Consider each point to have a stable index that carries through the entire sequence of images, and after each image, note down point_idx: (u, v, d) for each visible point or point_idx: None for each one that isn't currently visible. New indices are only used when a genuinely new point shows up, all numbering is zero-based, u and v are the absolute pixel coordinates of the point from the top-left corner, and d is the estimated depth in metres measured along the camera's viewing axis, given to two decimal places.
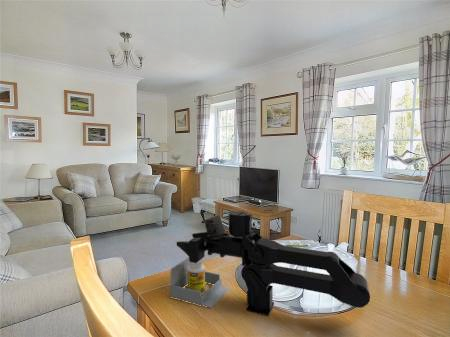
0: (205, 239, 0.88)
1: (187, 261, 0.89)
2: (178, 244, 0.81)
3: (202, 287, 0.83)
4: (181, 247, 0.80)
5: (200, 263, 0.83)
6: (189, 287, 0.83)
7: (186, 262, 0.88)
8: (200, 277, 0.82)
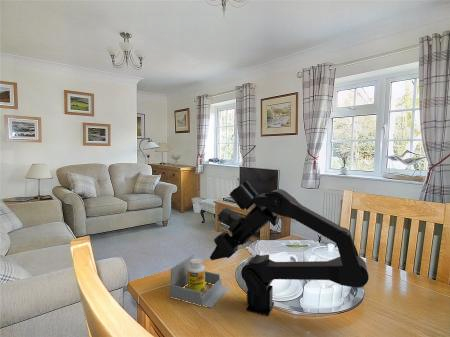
0: (236, 241, 0.84)
1: (187, 261, 0.89)
2: (212, 257, 0.76)
3: (202, 287, 0.83)
4: (215, 257, 0.75)
5: (200, 263, 0.83)
6: (189, 287, 0.83)
7: (186, 262, 0.88)
8: (200, 277, 0.82)
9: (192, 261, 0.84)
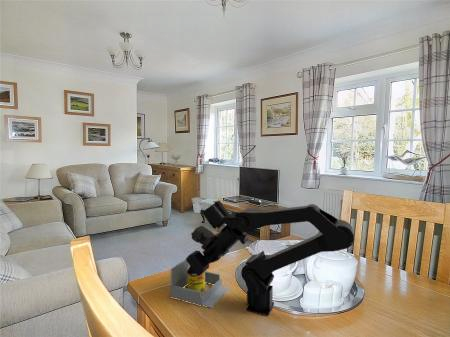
0: None
1: None
2: (189, 272, 0.82)
3: (202, 287, 0.83)
4: (192, 272, 0.81)
5: None
6: (189, 287, 0.83)
7: (186, 262, 0.88)
8: (200, 277, 0.82)
9: None
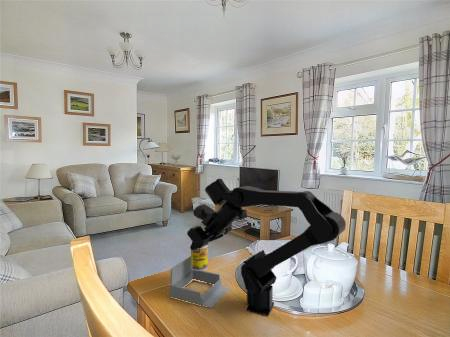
0: (211, 236, 0.89)
1: (187, 261, 0.89)
2: (191, 247, 0.85)
3: (205, 263, 0.86)
4: (194, 247, 0.84)
5: None
6: (192, 263, 0.86)
7: (186, 262, 0.88)
8: (202, 254, 0.85)
9: None
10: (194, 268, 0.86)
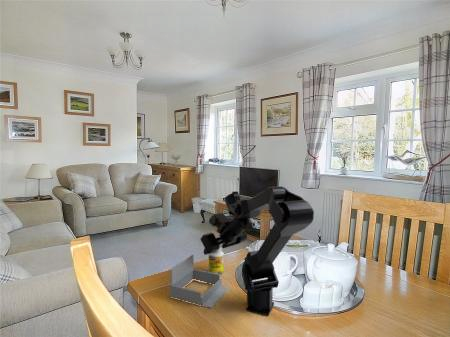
0: None
1: (187, 261, 0.89)
2: (204, 252, 0.94)
3: (219, 270, 0.95)
4: (206, 252, 0.93)
5: (218, 249, 0.95)
6: (209, 269, 0.96)
7: (186, 262, 0.88)
8: (217, 261, 0.95)
9: None
10: None
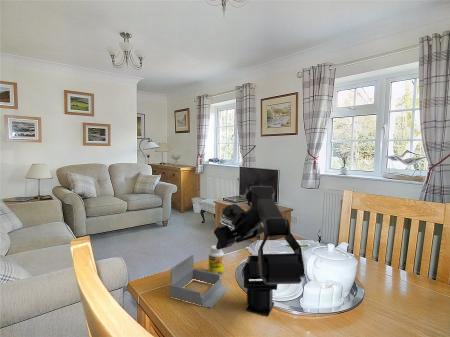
0: None
1: (187, 261, 0.89)
2: (217, 247, 0.85)
3: (219, 270, 0.95)
4: (219, 247, 0.84)
5: None
6: (209, 269, 0.96)
7: (186, 262, 0.88)
8: (217, 261, 0.95)
9: (212, 247, 0.97)
10: None
